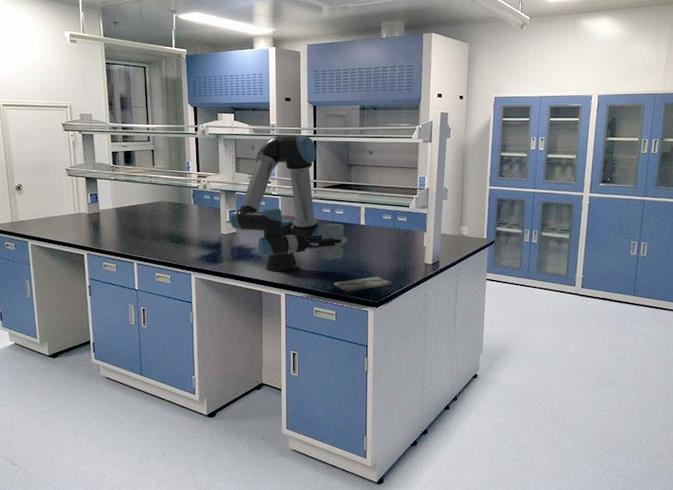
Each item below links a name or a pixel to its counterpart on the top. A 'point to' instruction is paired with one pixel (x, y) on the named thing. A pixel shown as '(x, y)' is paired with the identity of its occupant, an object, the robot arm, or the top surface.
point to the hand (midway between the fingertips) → (342, 238)
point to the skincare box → (329, 233)
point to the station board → (362, 283)
